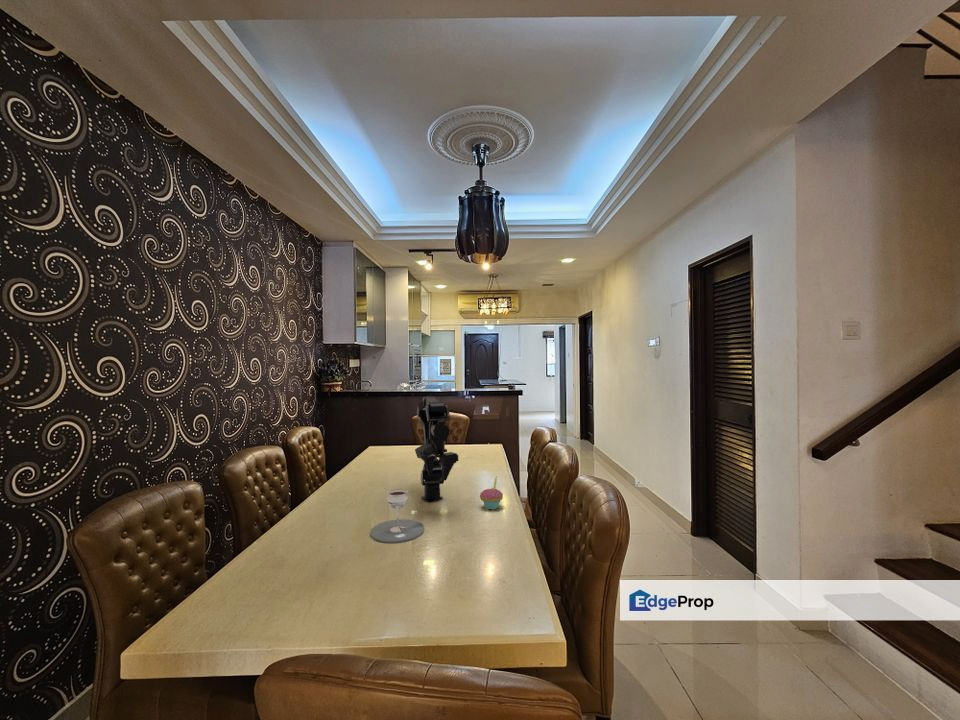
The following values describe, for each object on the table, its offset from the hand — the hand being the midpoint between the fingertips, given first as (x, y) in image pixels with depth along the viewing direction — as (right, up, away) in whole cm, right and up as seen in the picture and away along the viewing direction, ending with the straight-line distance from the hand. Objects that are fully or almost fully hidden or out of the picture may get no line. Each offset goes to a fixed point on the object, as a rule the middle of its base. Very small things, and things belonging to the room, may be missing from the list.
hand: (437, 477), depth 154 cm
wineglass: (-11, -11, -19) cm, 25 cm away
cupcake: (+20, -12, +2) cm, 23 cm away
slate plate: (-11, -12, -19) cm, 25 cm away
